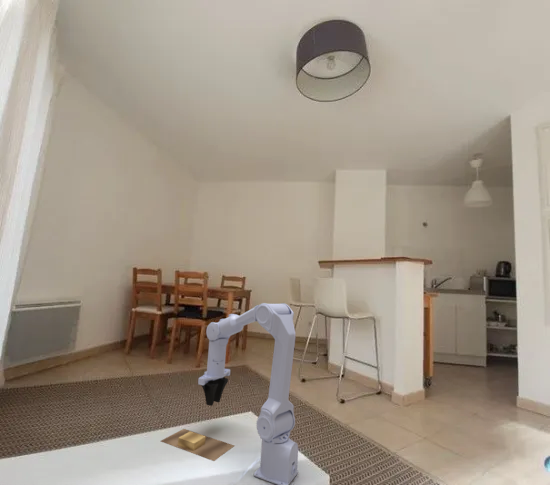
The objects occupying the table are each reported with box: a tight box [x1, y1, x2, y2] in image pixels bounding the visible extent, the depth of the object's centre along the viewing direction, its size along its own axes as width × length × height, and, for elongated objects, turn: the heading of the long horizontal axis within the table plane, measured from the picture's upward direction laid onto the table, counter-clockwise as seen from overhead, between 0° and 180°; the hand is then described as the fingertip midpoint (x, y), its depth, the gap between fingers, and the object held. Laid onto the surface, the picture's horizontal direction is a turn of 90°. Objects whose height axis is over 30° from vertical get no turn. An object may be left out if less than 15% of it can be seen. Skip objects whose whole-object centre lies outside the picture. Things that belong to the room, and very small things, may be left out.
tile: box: [178, 430, 207, 451], centre depth 92 cm, size 6×5×2 cm
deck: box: [160, 428, 236, 462], centre depth 92 cm, size 20×10×2 cm, turn 63°
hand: (213, 403), depth 101 cm, fingers open, 3 cm apart
